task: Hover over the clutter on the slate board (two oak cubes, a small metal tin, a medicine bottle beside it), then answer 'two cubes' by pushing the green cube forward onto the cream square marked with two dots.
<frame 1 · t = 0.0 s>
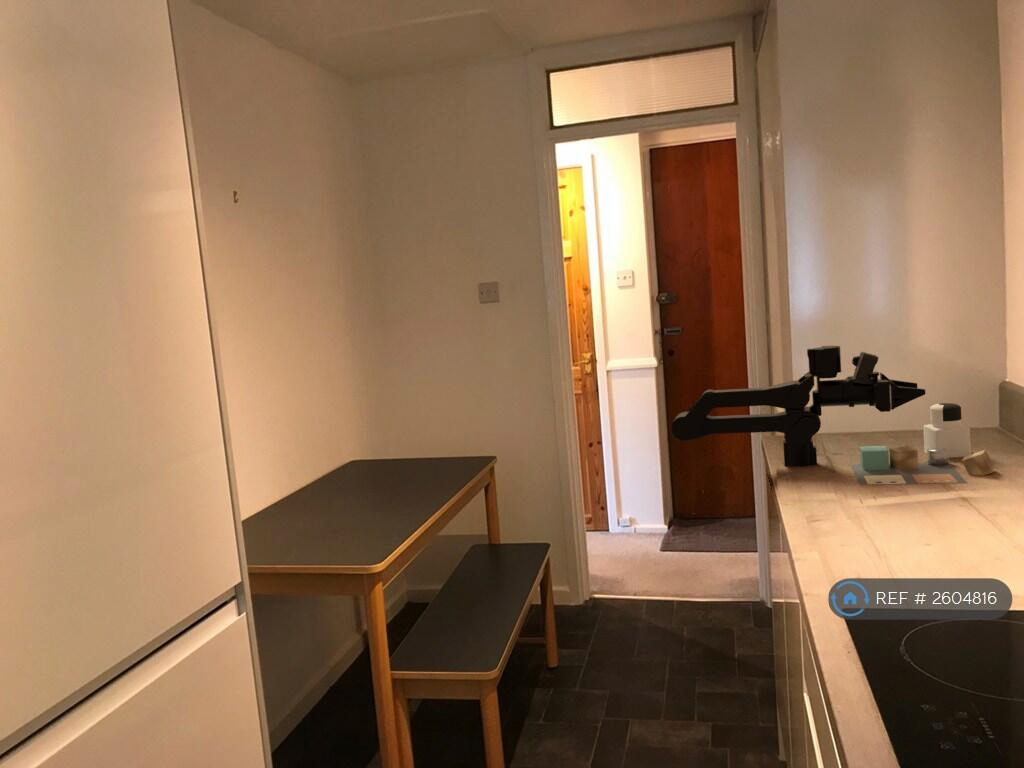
hand: (921, 388, 177), 17 cm above the counter, tool horizontal, fingers open, 9 cm apart
board: (905, 477, 170), on the counter
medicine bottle: (947, 459, 183), on the counter
oak cube A: (904, 467, 175), point 1 cm above the counter, touching board
metal tin: (938, 463, 175), point 1 cm above the counter, touching board
oak cube B: (967, 467, 167), point 2 cm above the counter, tilted 67°
green cube: (874, 467, 177), point 1 cm above the counter, touching board
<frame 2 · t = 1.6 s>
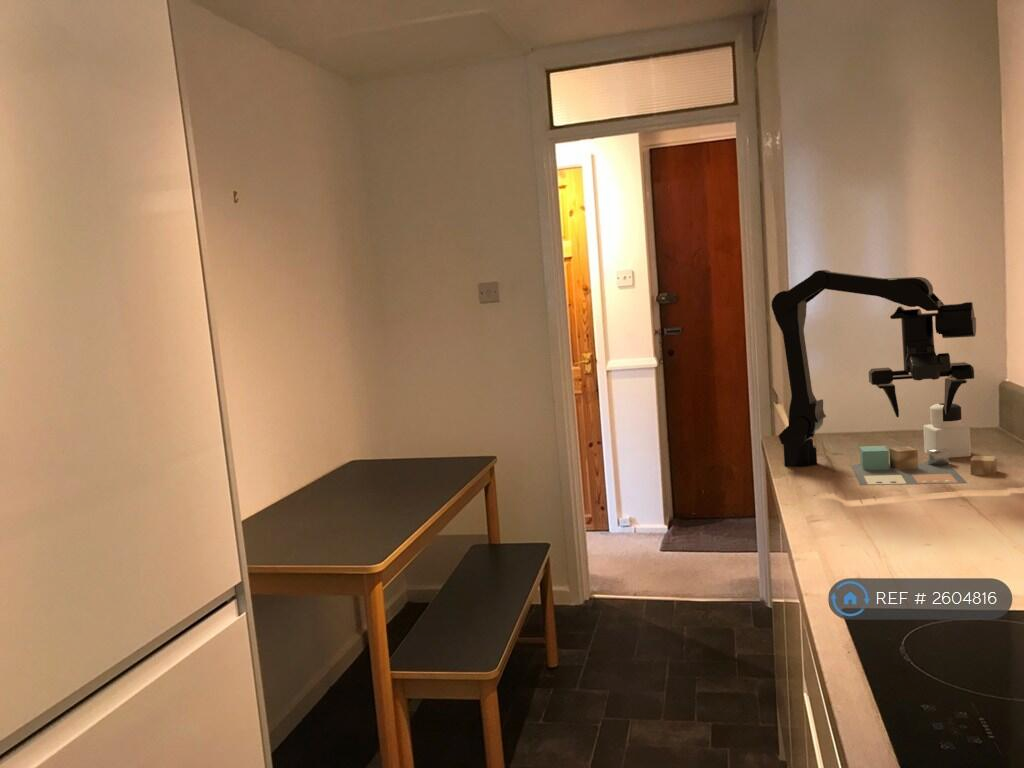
hand: (921, 415, 171), 12 cm above the counter, tool pointing down, fingers open, 9 cm apart
oak cube B: (972, 467, 166), point 2 cm above the counter, tilted 90°
everything else where it was.
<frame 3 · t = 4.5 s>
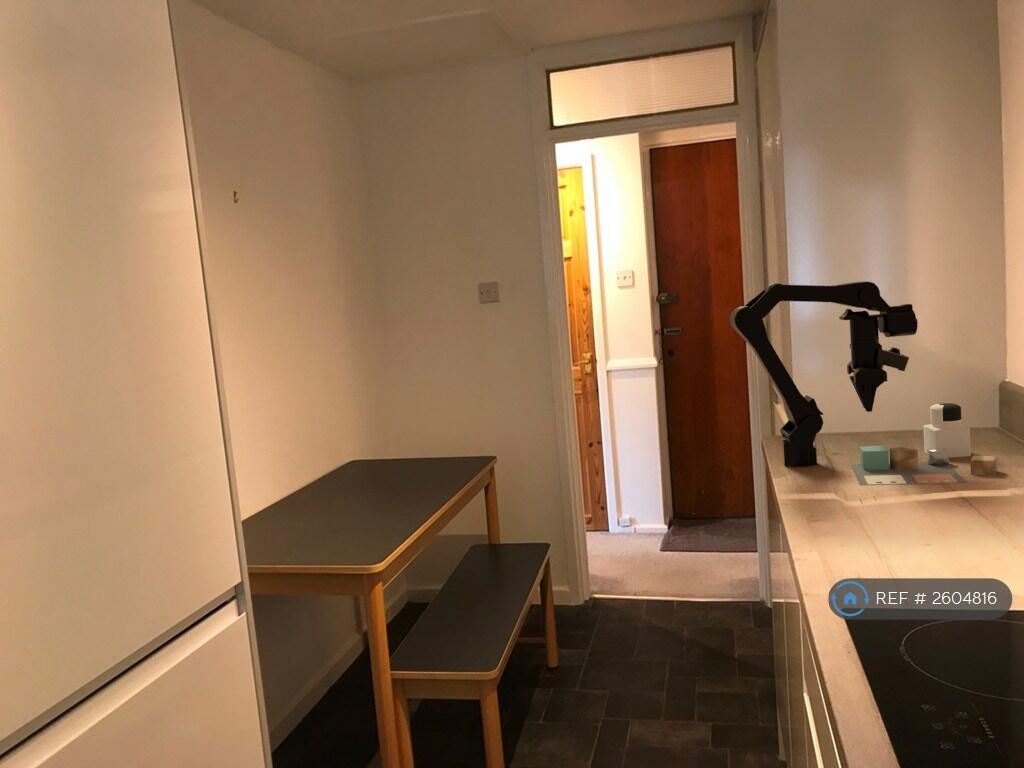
hand: (867, 409, 184), 12 cm above the counter, tool pointing down, fingers open, 4 cm apart
nothing on the counter moved.
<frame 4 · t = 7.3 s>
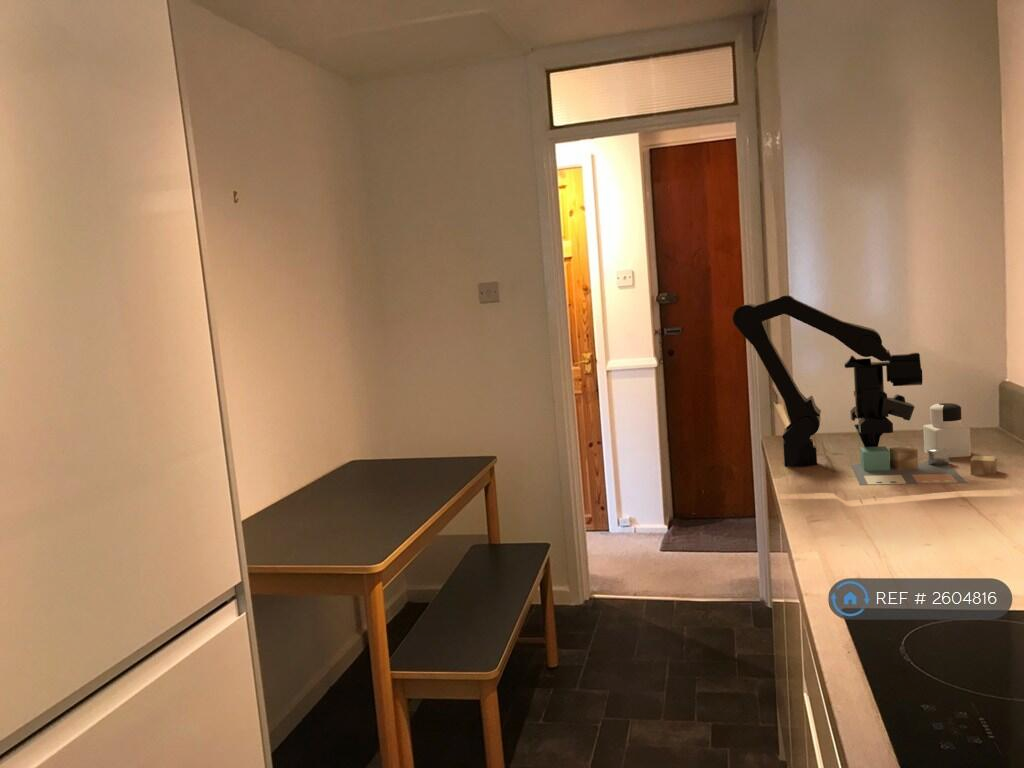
hand: (872, 458, 181), 2 cm above the counter, tool pointing down, fingers closed
green cube: (875, 467, 177), point 1 cm above the counter, touching board, gripper
everything else where it was.
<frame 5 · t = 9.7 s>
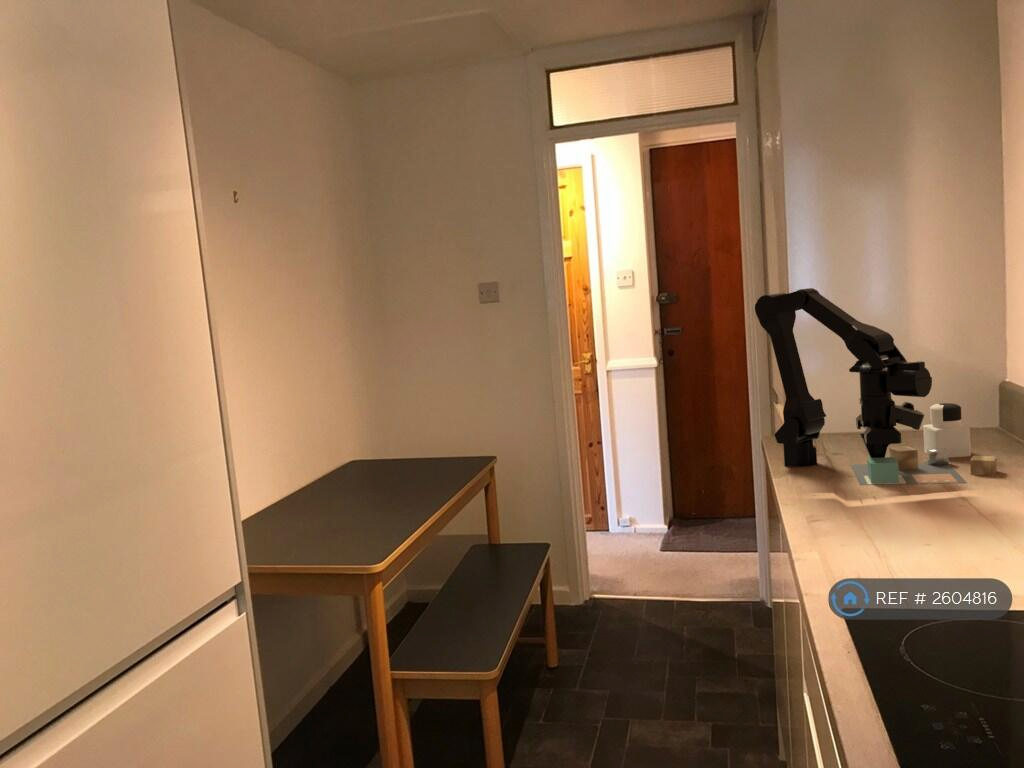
hand: (879, 469, 170), 2 cm above the counter, tool pointing down, fingers closed
green cube: (883, 479, 166), point 1 cm above the counter, touching board, gripper
everything else where it was.
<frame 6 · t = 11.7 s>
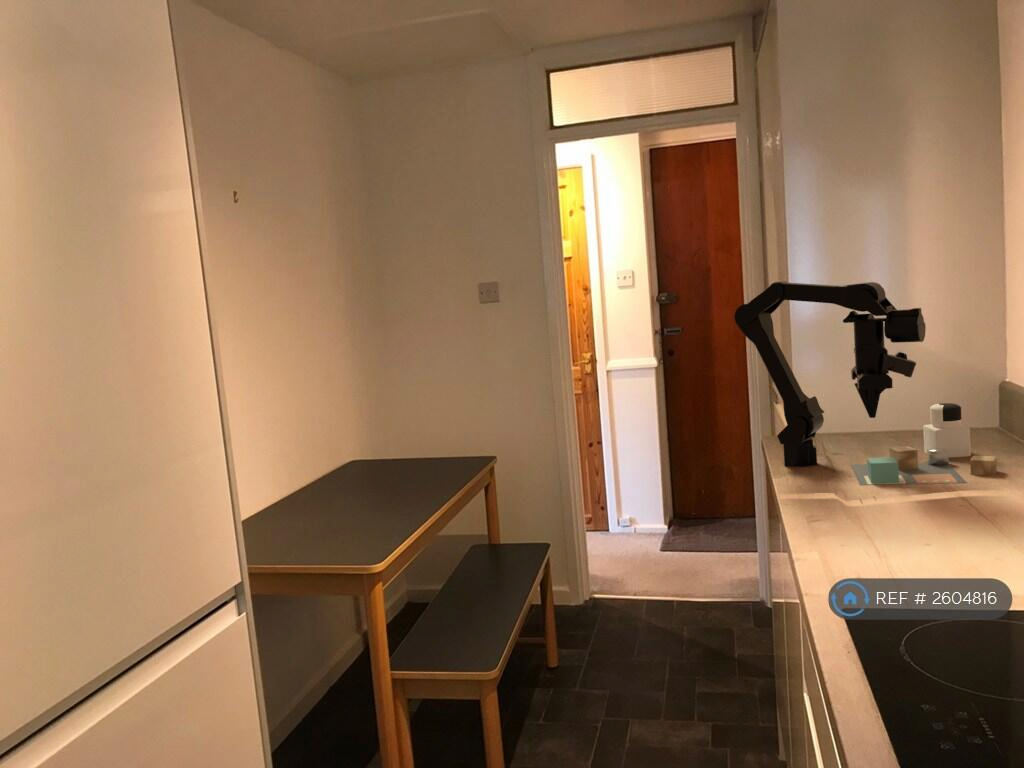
hand: (872, 417, 175), 12 cm above the counter, tool pointing down, fingers closed
green cube: (883, 479, 166), point 1 cm above the counter, touching board
everything else where it was.
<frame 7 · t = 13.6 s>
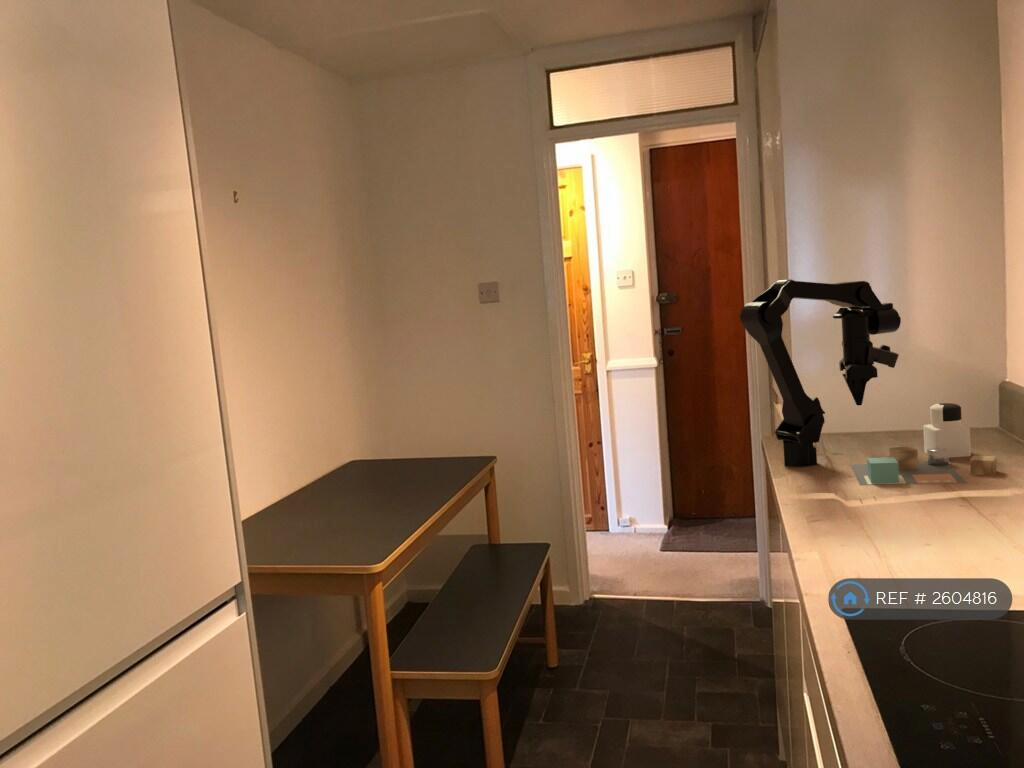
hand: (859, 405, 191), 12 cm above the counter, tool pointing down, fingers closed
nothing on the counter moved.
at the end: green cube inside the target area on the board (0.5 cm from its centre), point 1.0 cm above the board's base; green cube tilted 0° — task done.
